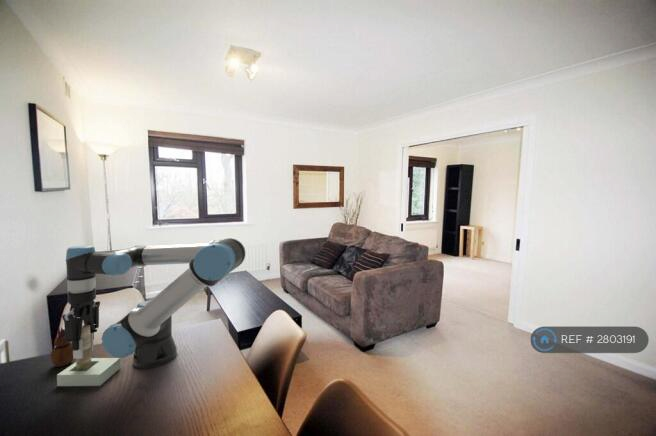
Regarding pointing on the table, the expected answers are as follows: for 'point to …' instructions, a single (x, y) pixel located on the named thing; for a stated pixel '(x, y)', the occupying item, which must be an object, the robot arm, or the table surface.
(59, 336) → the wooden figurine
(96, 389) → the table surface
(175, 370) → the table surface
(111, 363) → the socket block
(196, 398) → the table surface
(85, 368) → the dowel
